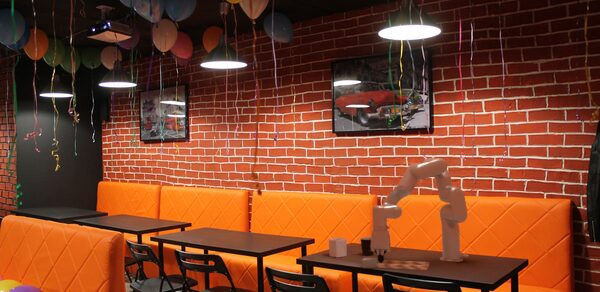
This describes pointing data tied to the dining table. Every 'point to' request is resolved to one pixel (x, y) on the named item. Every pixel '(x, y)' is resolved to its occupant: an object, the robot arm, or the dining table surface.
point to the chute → (403, 265)
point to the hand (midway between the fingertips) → (381, 262)
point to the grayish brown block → (370, 262)
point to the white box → (337, 247)
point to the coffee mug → (366, 246)
